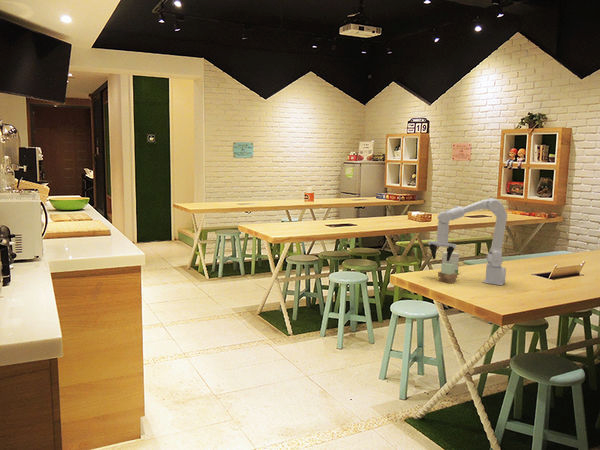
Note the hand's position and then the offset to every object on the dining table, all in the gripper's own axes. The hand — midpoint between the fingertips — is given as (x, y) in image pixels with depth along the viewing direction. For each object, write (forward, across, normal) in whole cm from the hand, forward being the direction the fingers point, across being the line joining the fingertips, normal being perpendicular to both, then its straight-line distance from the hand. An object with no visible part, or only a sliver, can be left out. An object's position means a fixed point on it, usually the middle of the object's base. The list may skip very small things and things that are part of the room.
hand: (441, 259), depth 269 cm
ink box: (+11, -1, +17) cm, 20 cm away
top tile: (+8, +5, -2) cm, 10 cm away
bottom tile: (+11, +5, -2) cm, 12 cm away
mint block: (+6, +5, -2) cm, 8 cm away
